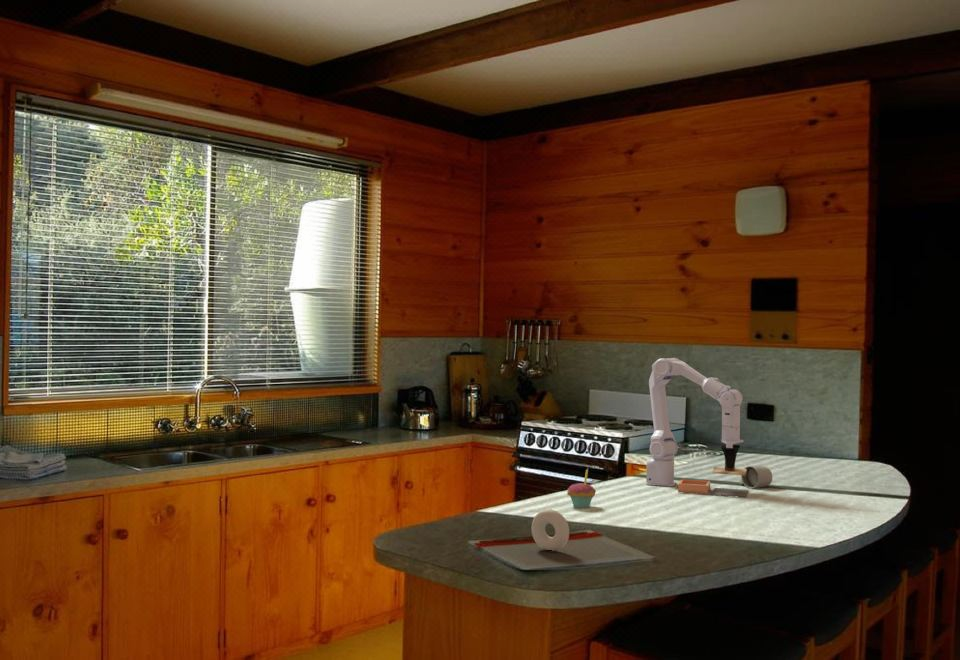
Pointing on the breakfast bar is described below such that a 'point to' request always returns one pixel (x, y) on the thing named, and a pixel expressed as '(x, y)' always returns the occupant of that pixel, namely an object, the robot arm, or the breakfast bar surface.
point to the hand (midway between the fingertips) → (730, 467)
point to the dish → (694, 486)
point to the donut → (559, 525)
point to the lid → (729, 470)
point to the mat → (730, 492)
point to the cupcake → (581, 493)
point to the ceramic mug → (756, 477)
